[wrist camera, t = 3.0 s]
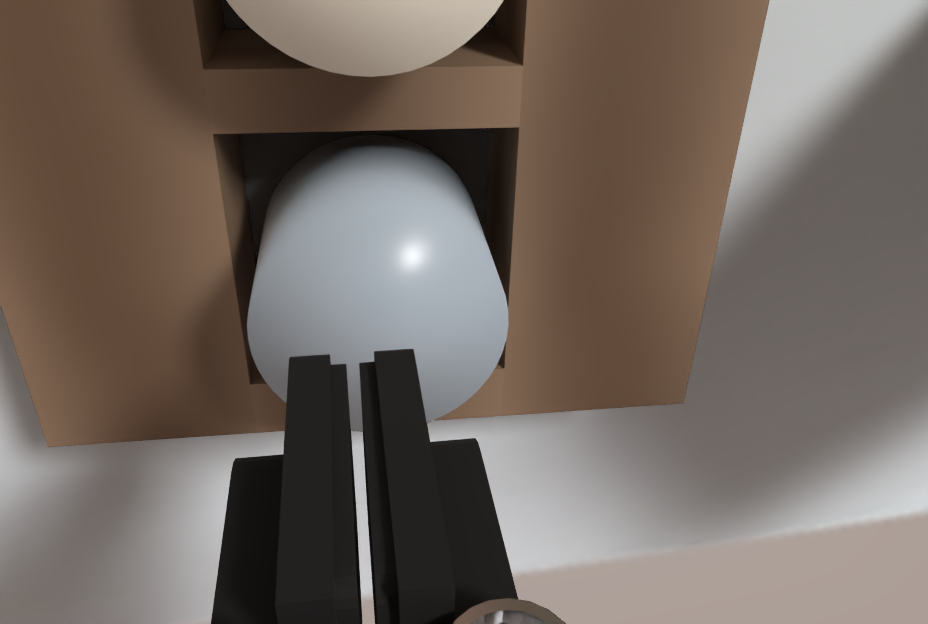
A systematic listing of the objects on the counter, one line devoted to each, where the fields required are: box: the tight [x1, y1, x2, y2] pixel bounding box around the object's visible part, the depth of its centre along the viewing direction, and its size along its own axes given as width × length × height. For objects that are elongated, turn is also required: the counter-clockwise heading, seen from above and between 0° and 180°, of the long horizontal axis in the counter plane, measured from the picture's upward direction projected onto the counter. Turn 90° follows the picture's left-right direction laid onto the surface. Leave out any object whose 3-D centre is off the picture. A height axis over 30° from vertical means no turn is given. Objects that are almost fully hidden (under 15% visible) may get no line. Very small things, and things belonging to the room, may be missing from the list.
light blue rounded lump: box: [247, 135, 508, 432], centre depth 15 cm, size 4×4×4 cm
